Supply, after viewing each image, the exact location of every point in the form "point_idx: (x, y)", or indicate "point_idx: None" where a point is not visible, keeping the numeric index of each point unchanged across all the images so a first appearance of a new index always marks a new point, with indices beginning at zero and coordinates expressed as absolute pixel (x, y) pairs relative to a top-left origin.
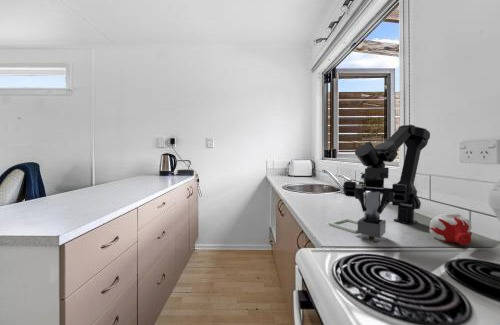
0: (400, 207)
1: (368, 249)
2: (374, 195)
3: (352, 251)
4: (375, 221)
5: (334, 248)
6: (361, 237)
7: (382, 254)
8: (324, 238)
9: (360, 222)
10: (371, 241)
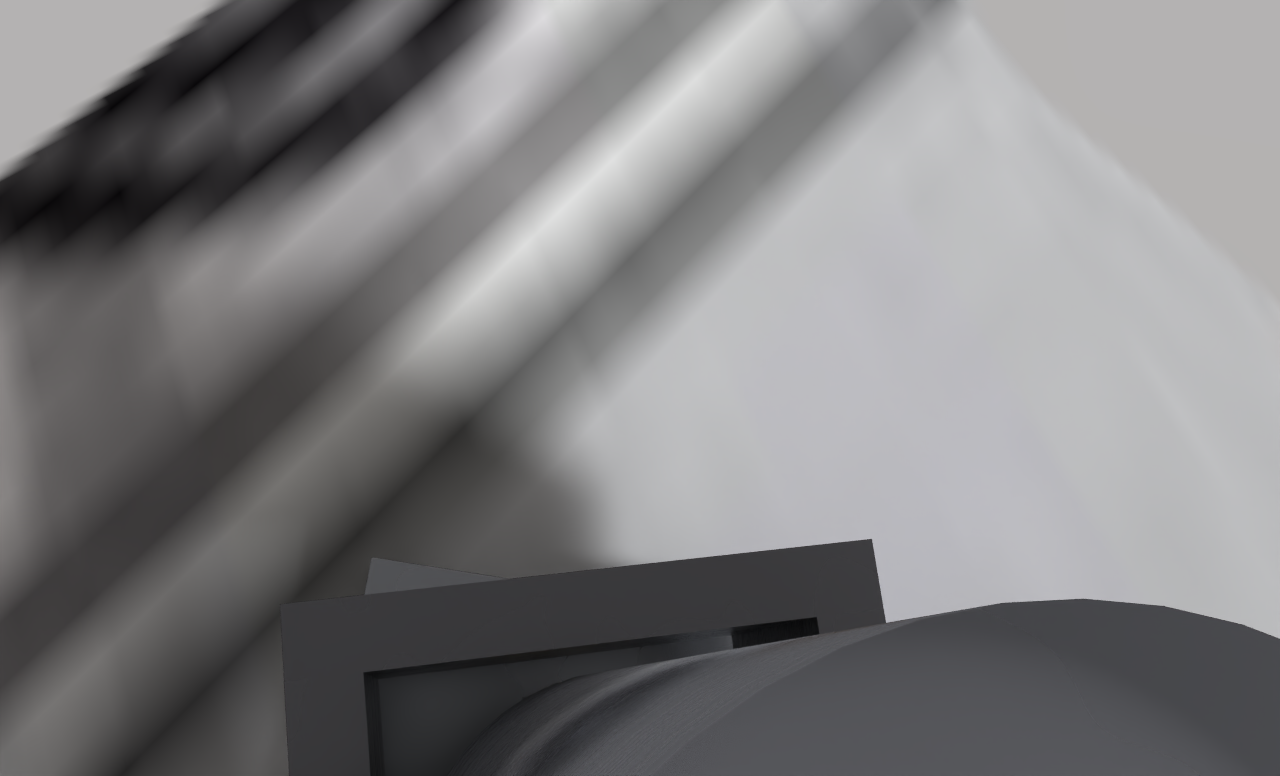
0: None
1: (422, 328)
2: (648, 719)
3: (570, 78)
4: (469, 748)
5: (806, 10)
6: None
7: (173, 281)
8: (1140, 279)
9: (792, 550)
10: (469, 579)
